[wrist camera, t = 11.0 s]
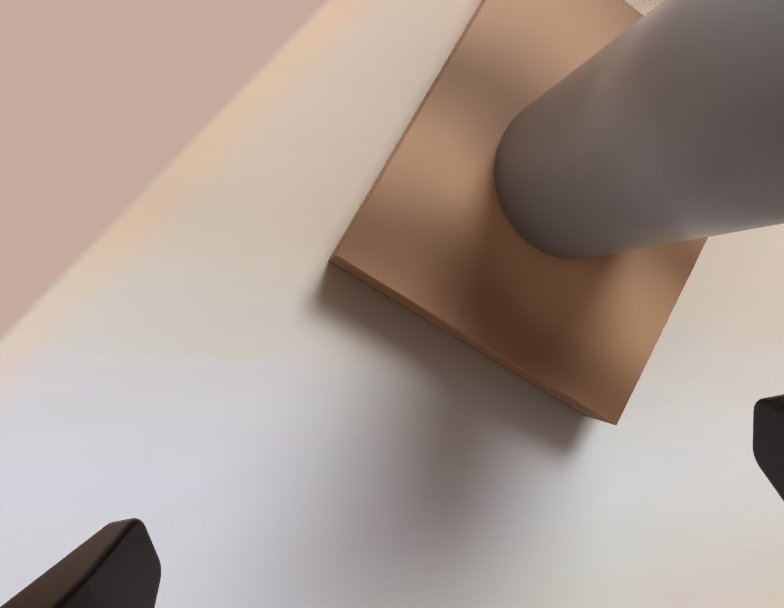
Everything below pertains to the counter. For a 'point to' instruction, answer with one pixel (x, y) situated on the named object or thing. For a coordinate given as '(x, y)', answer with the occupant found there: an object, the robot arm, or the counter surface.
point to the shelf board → (495, 233)
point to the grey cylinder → (655, 135)
